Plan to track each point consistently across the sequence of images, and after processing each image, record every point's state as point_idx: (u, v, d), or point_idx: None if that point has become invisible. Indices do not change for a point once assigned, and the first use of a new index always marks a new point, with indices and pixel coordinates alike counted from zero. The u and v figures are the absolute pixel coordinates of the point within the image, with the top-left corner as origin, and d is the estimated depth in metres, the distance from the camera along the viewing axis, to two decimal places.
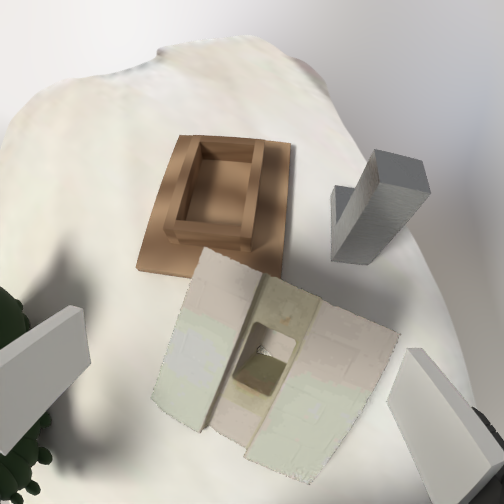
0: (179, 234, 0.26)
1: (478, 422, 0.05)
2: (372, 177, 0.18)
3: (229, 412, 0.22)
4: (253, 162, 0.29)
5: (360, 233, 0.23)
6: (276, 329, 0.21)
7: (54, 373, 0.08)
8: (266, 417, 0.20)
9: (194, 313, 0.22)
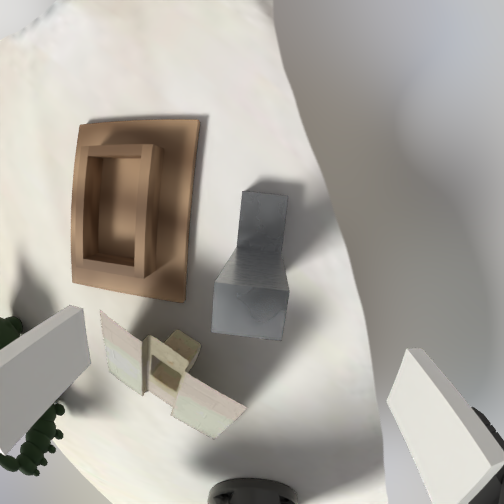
0: None
1: (478, 422, 0.05)
2: None
3: (156, 389, 0.31)
4: (139, 183, 0.24)
5: None
6: (166, 364, 0.25)
7: (54, 373, 0.08)
8: (174, 404, 0.28)
9: (111, 343, 0.26)
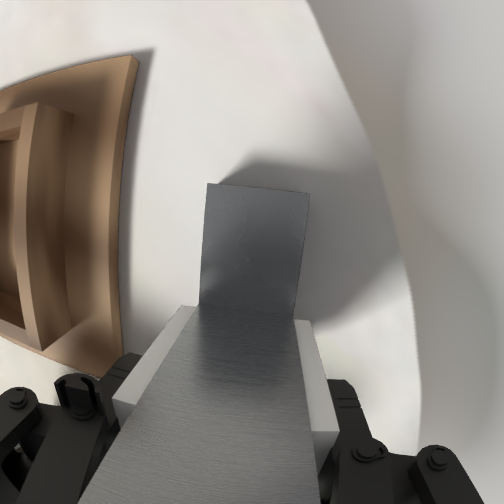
0: None
1: (327, 390, 0.07)
2: None
3: None
4: (16, 179, 0.10)
5: None
6: None
7: None
8: None
9: None
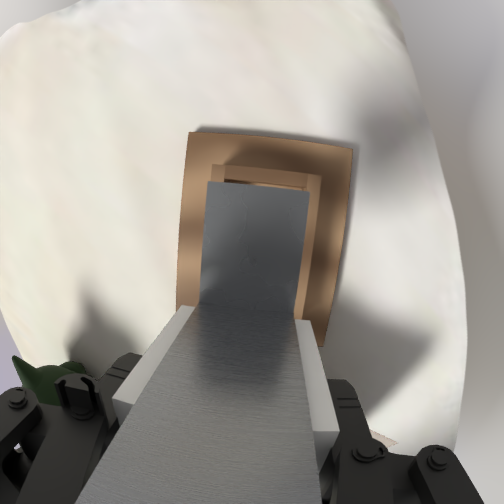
0: None
1: (327, 390, 0.07)
2: None
3: None
4: None
5: None
6: None
7: None
8: None
9: None
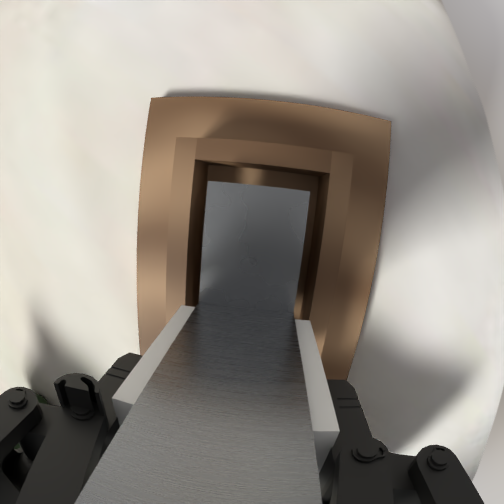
0: None
1: (327, 390, 0.07)
2: None
3: None
4: (327, 229, 0.13)
5: None
6: None
7: None
8: None
9: None
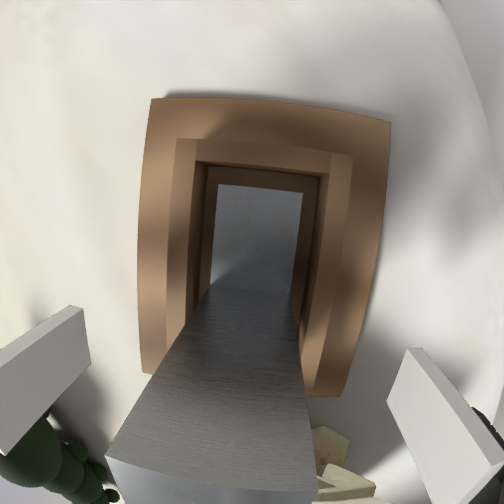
0: None
1: (478, 422, 0.05)
2: None
3: None
4: (327, 230, 0.13)
5: None
6: (320, 479, 0.15)
7: (54, 373, 0.08)
8: None
9: None
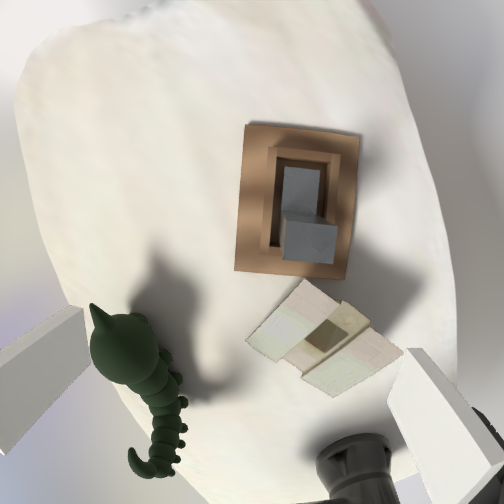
0: None
1: (478, 422, 0.05)
2: (283, 241, 0.23)
3: (297, 354, 0.38)
4: (330, 184, 0.31)
5: None
6: (339, 326, 0.33)
7: (54, 373, 0.08)
8: (320, 364, 0.36)
9: (289, 310, 0.33)
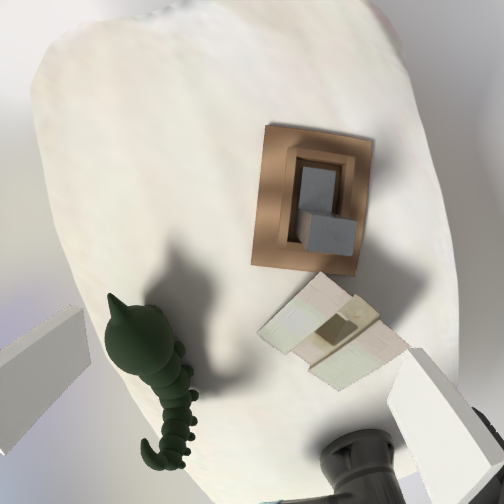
0: None
1: (478, 422, 0.05)
2: (307, 234, 0.25)
3: (306, 346, 0.40)
4: (346, 185, 0.32)
5: None
6: (349, 319, 0.34)
7: (54, 373, 0.08)
8: (329, 357, 0.37)
9: (303, 302, 0.35)
